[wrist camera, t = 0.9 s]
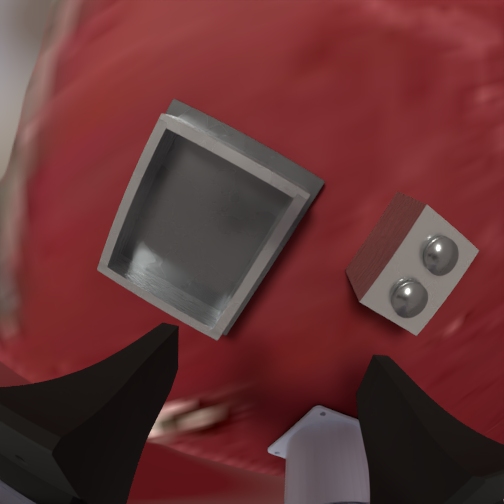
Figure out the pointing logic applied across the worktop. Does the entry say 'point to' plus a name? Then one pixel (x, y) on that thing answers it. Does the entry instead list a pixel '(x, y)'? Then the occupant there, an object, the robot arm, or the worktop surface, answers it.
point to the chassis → (204, 219)
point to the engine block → (409, 263)
